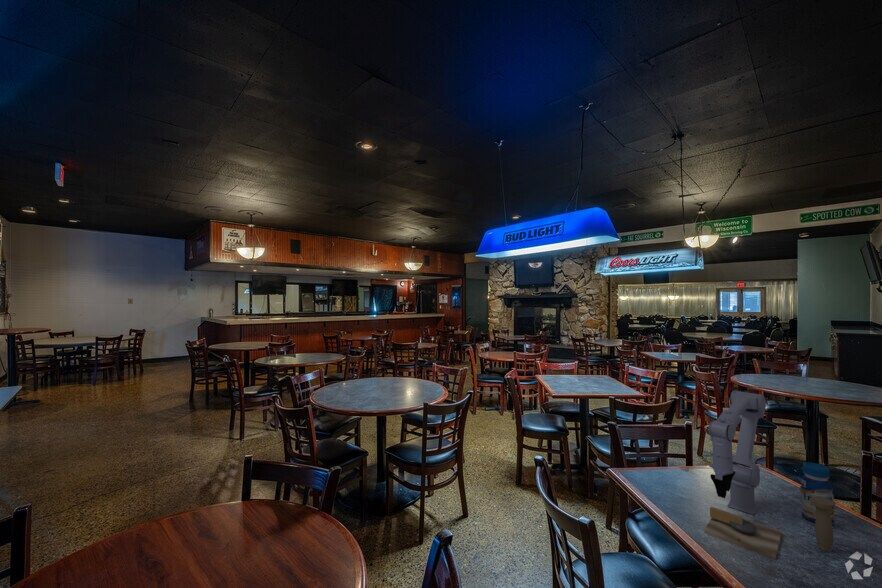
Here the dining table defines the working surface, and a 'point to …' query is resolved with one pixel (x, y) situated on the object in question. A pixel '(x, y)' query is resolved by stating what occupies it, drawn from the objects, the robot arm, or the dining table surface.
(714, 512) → the lever with round base
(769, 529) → the post board
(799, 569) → the dining table surface
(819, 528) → the handle
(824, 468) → the beverage bottle
